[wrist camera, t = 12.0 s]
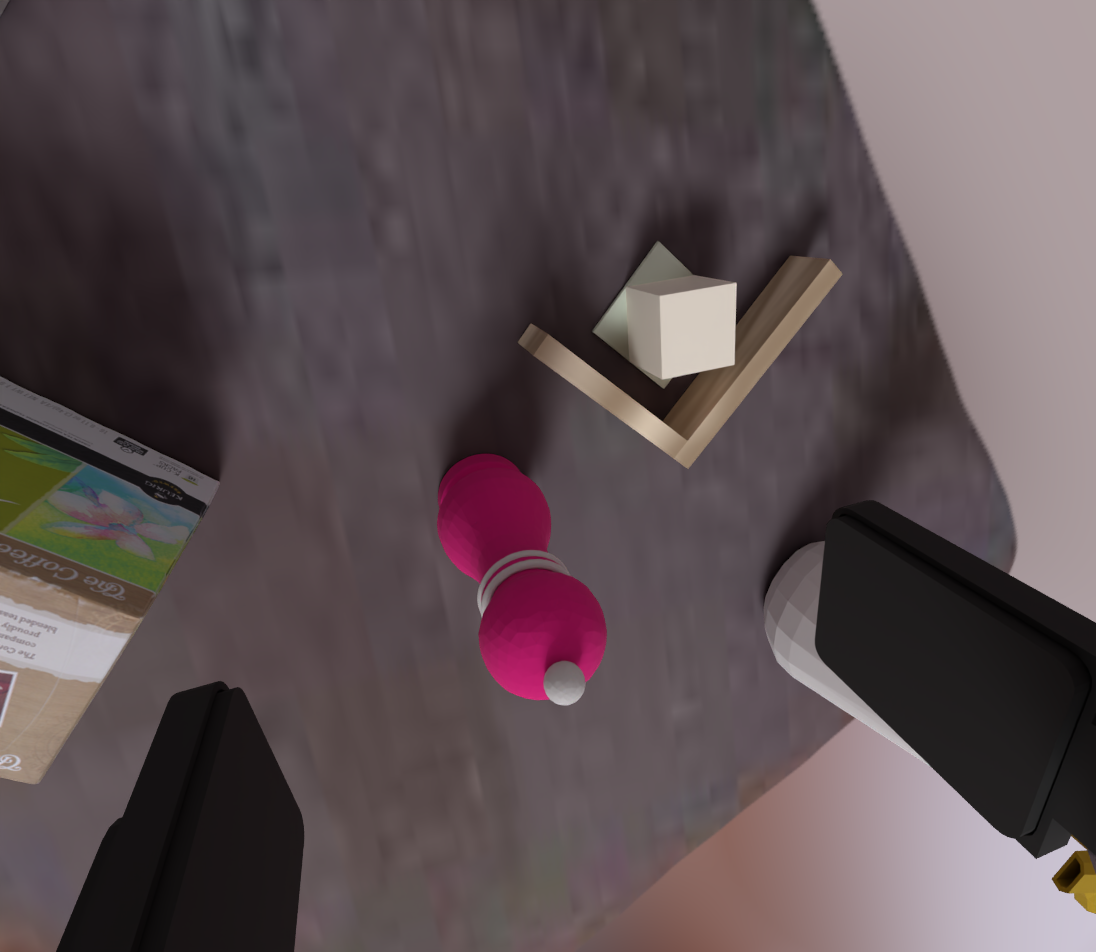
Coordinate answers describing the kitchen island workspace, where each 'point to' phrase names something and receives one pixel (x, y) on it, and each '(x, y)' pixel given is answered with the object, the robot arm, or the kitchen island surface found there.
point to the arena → (712, 389)
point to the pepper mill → (519, 581)
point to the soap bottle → (795, 651)
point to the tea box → (76, 563)
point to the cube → (681, 325)
